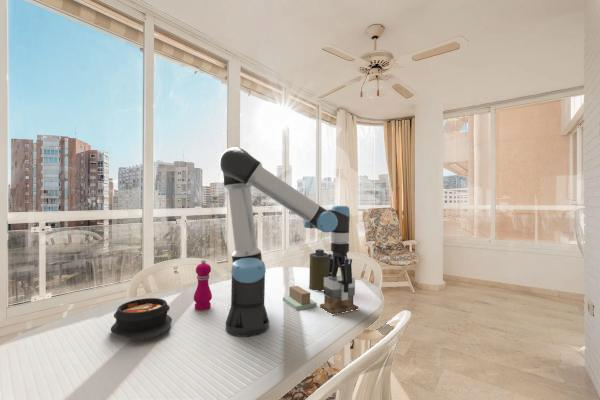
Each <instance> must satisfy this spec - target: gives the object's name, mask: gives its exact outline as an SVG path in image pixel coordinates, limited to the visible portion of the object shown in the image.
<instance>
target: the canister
mask: <svg viewBox="0 0 600 400" xmlns="http://www.w3.org/2000/svg"><path fill="white" fill-rule="evenodd" d="M329 254H330V253H329ZM329 254H328V253H327V252H325V250H324V249H321V248H318V249H315V252H313V253H310V254H309V281H308V283H309V284H308V288H310V289H309V290H311V289H312V290H311V291H313V290H318V291H317V292H322V291H321V290H324V277H329V276H328V265H329Z"/></svg>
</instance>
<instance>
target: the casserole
mask: <svg viewBox="0 0 600 400" xmlns="http://www.w3.org/2000/svg"><path fill="white" fill-rule="evenodd" d="M170 307H171V306H169V305H168V302H167V301H166V300H165V299H162V298H155V297H153V298H152V297H150V298H149V297H148V298H140V299H134V300H130V301H128V302H125V303H122V304H120V305H119V306H118V307H117V310H116V311H115V313H114V314H113V318H115V323H113V325H112V326H111V327H110V332H111V333H112V334H114V335H117V336H122V337H125V338H128V339H131V340H135V341H137V340H143V339H150V338H153V337H156V336H159V335H162V334H164V333H167V332H168V331H169V330H170V329H171V323H172V321H173V319H172V317H171V316H170V315H168V312H169V310H170V309H171V308H170Z"/></svg>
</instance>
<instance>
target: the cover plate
mask: <svg viewBox="0 0 600 400" xmlns="http://www.w3.org/2000/svg"><path fill="white" fill-rule="evenodd" d="M342 283H343V281H342V275H341V274H339V275H337V276H331V277H324V286H325V287H327V288H329V289H331V290H338V289H342ZM352 287H355V288H356V278H354V277H352V284H349V287H348V288H352Z"/></svg>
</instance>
